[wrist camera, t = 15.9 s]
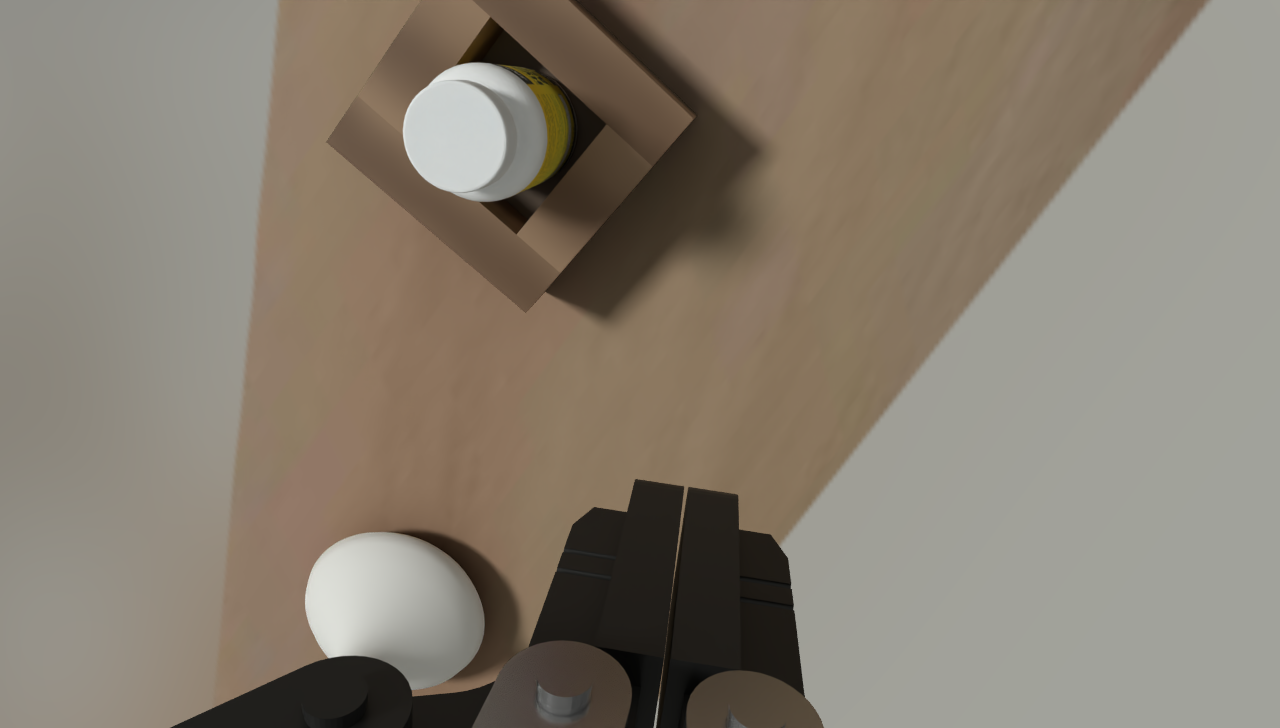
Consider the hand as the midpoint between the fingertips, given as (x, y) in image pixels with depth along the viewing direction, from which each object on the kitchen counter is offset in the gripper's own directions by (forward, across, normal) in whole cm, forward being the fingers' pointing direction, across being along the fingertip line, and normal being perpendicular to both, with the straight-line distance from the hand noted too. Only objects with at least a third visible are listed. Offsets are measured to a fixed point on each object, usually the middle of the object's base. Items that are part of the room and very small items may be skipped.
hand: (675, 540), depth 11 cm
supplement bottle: (+28, +10, -3) cm, 30 cm away
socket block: (+29, +10, -3) cm, 31 cm away
